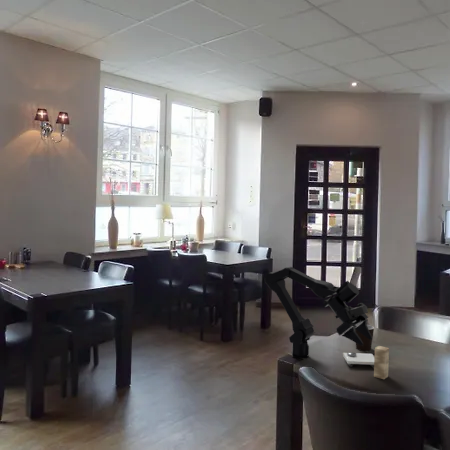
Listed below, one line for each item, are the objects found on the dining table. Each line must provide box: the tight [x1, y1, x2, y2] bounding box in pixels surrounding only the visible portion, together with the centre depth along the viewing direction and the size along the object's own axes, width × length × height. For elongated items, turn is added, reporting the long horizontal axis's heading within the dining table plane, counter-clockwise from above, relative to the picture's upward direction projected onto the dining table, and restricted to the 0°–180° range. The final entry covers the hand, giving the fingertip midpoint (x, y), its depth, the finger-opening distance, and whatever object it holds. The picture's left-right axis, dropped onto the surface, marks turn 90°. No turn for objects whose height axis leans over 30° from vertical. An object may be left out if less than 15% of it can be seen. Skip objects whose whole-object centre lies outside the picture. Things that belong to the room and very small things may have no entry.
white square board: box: [342, 352, 375, 369], centre depth 186 cm, size 12×10×3 cm
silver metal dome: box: [346, 351, 356, 357], centre depth 188 cm, size 4×4×1 cm
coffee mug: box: [355, 324, 375, 352], centre depth 206 cm, size 12×9×10 cm
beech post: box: [373, 345, 390, 380], centre depth 173 cm, size 4×4×11 cm
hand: (366, 341), depth 176 cm, fingers open, 9 cm apart
